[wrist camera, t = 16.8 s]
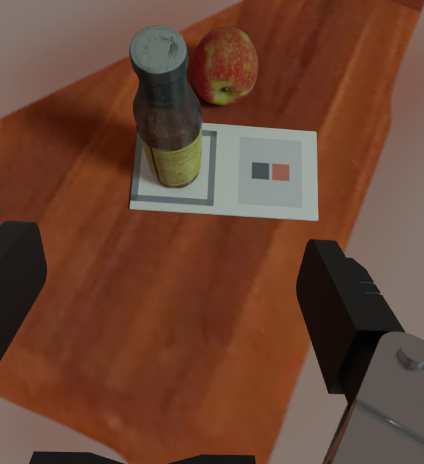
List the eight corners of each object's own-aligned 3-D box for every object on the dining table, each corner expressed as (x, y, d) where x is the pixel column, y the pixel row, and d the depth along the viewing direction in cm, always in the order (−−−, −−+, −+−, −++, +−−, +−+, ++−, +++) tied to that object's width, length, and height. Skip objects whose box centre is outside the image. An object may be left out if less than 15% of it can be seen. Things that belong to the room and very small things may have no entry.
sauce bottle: (210, 163, 44) (230, 47, 24) (179, 201, 42) (174, 109, 23) (169, 133, 44) (156, -5, 25) (137, 169, 43) (97, 54, 23)
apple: (190, 113, 45) (191, 72, 37) (192, 57, 47) (194, 7, 39) (251, 117, 46) (264, 77, 38) (251, 61, 48) (264, 13, 40)
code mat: (129, 209, 42) (129, 208, 42) (139, 118, 44) (138, 117, 44) (317, 221, 43) (318, 220, 43) (315, 132, 46) (316, 131, 46)
